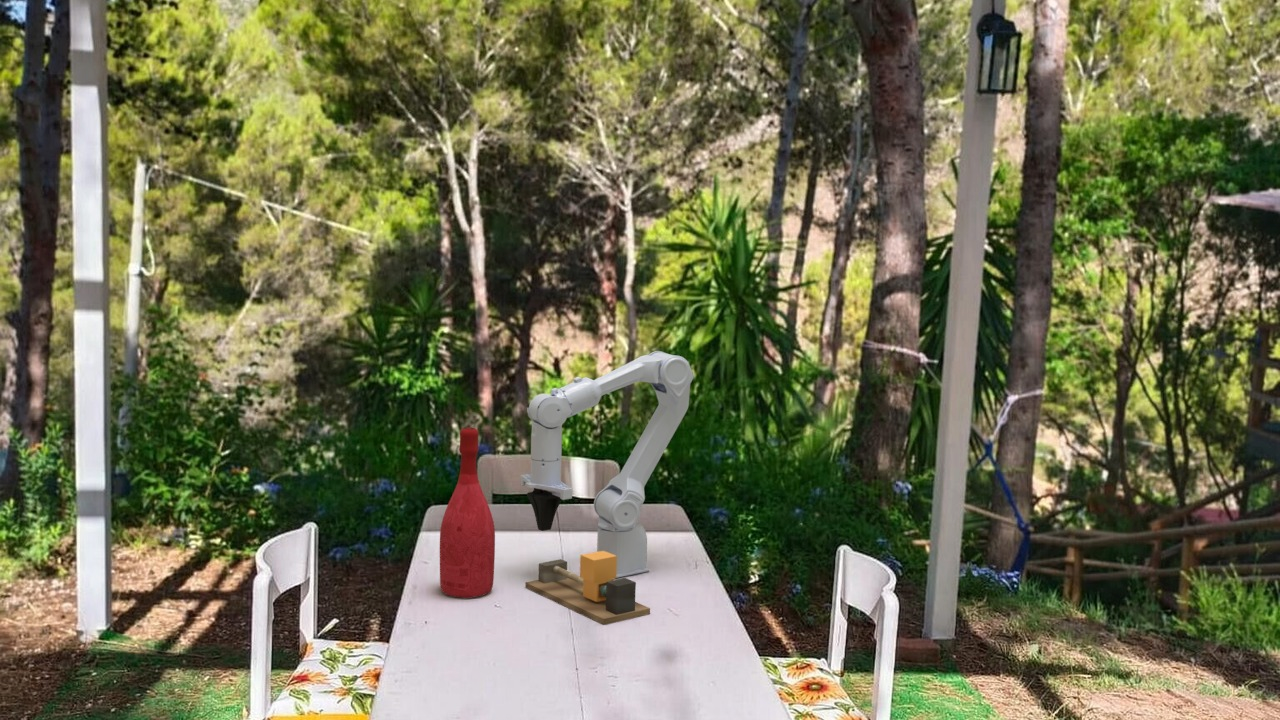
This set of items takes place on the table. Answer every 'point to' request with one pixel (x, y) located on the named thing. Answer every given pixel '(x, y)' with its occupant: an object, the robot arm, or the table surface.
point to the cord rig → (570, 594)
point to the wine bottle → (467, 530)
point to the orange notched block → (597, 572)
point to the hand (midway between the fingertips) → (544, 529)
